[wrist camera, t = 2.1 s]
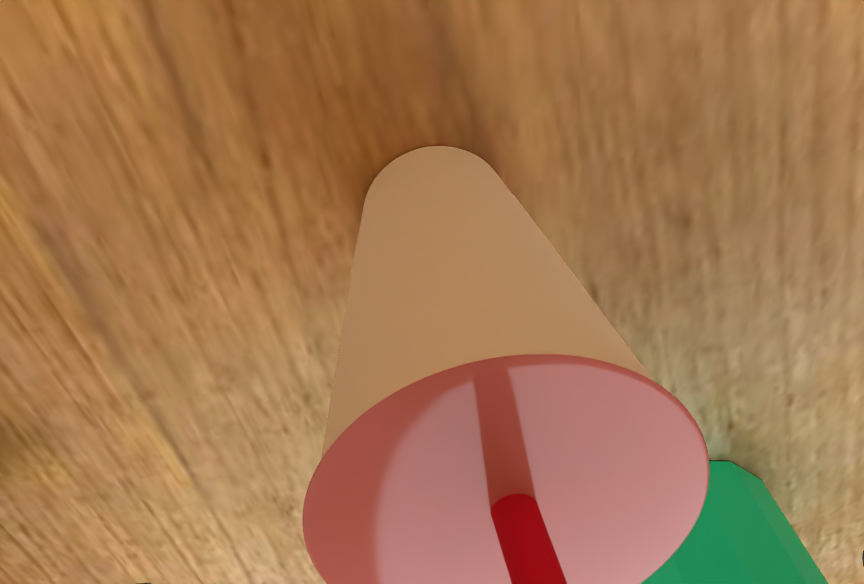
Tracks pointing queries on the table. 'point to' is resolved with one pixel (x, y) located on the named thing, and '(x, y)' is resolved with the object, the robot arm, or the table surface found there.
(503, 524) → the cup
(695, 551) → the candle
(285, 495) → the table surface
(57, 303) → the table surface
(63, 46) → the table surface
